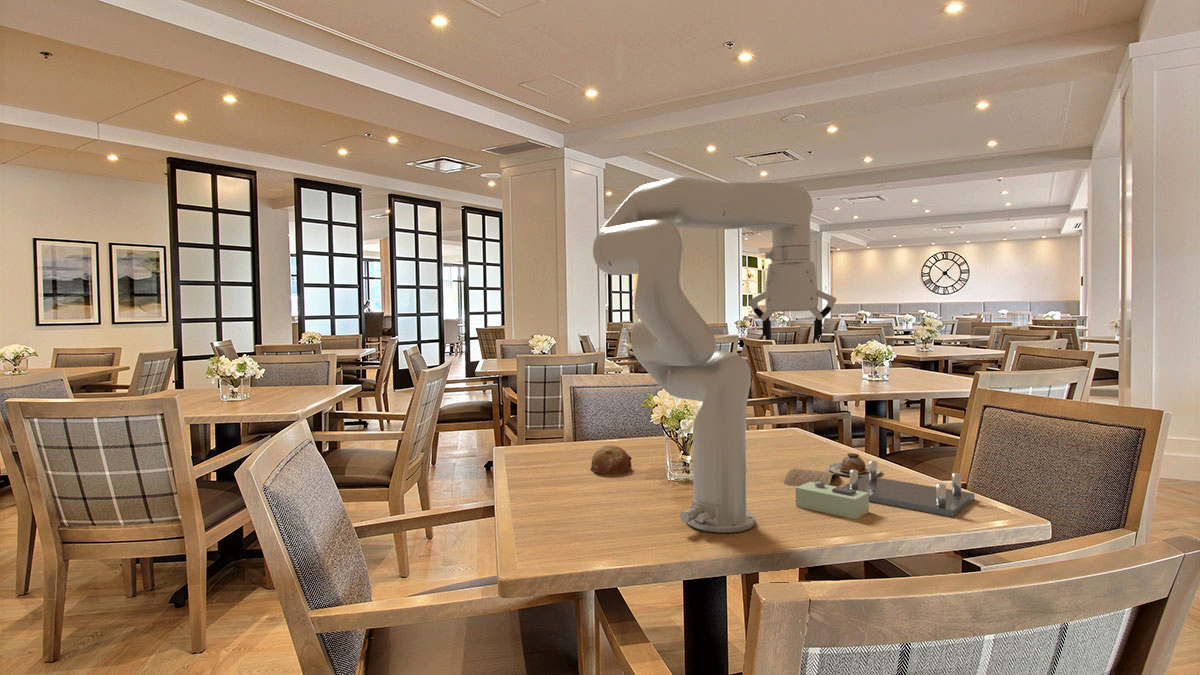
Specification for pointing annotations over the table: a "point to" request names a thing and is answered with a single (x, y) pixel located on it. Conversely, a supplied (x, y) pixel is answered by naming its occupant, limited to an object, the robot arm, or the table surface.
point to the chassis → (912, 493)
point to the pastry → (851, 465)
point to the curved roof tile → (807, 477)
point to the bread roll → (610, 460)
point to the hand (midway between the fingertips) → (792, 339)
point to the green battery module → (832, 499)
